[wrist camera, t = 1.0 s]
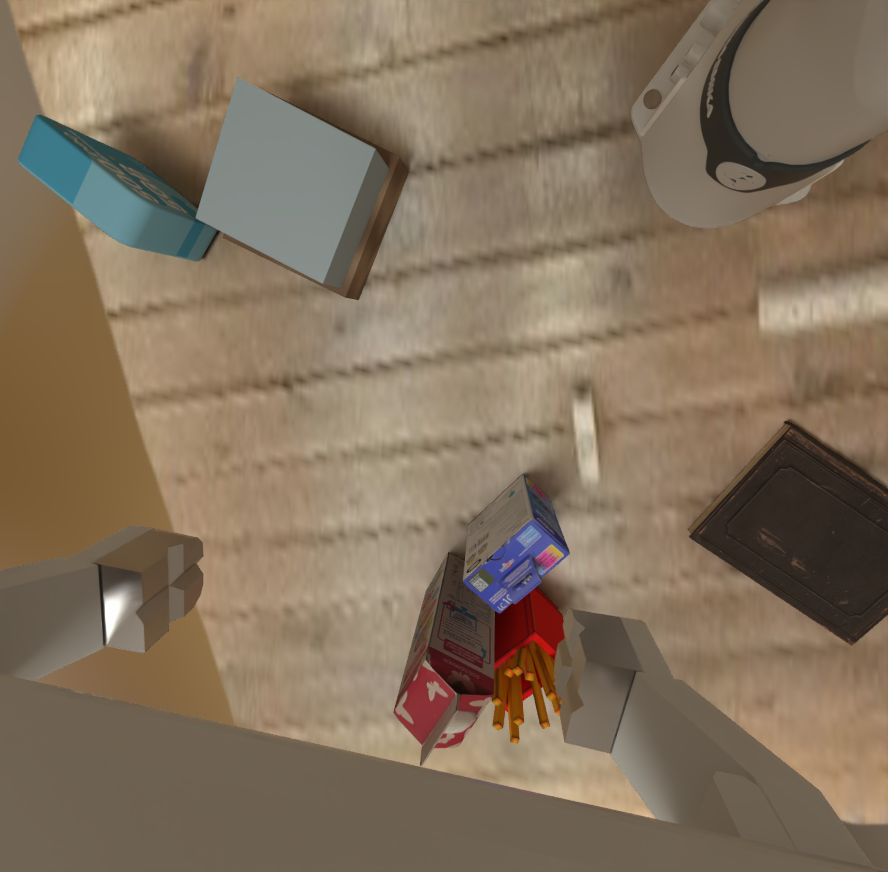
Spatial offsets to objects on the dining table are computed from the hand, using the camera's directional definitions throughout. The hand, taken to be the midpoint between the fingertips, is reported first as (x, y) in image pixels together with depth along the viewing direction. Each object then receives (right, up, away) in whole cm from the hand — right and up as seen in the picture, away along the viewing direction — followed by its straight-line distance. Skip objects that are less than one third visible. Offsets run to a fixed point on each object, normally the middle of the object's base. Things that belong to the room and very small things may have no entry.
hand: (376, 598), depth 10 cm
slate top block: (-12, +27, +34) cm, 45 cm away
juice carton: (+3, -16, +47) cm, 50 cm away
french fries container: (+11, -20, +47) cm, 52 cm away
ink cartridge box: (+10, -6, +44) cm, 46 cm away
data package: (-29, +29, +40) cm, 57 cm away
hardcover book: (+44, -7, +41) cm, 60 cm away
